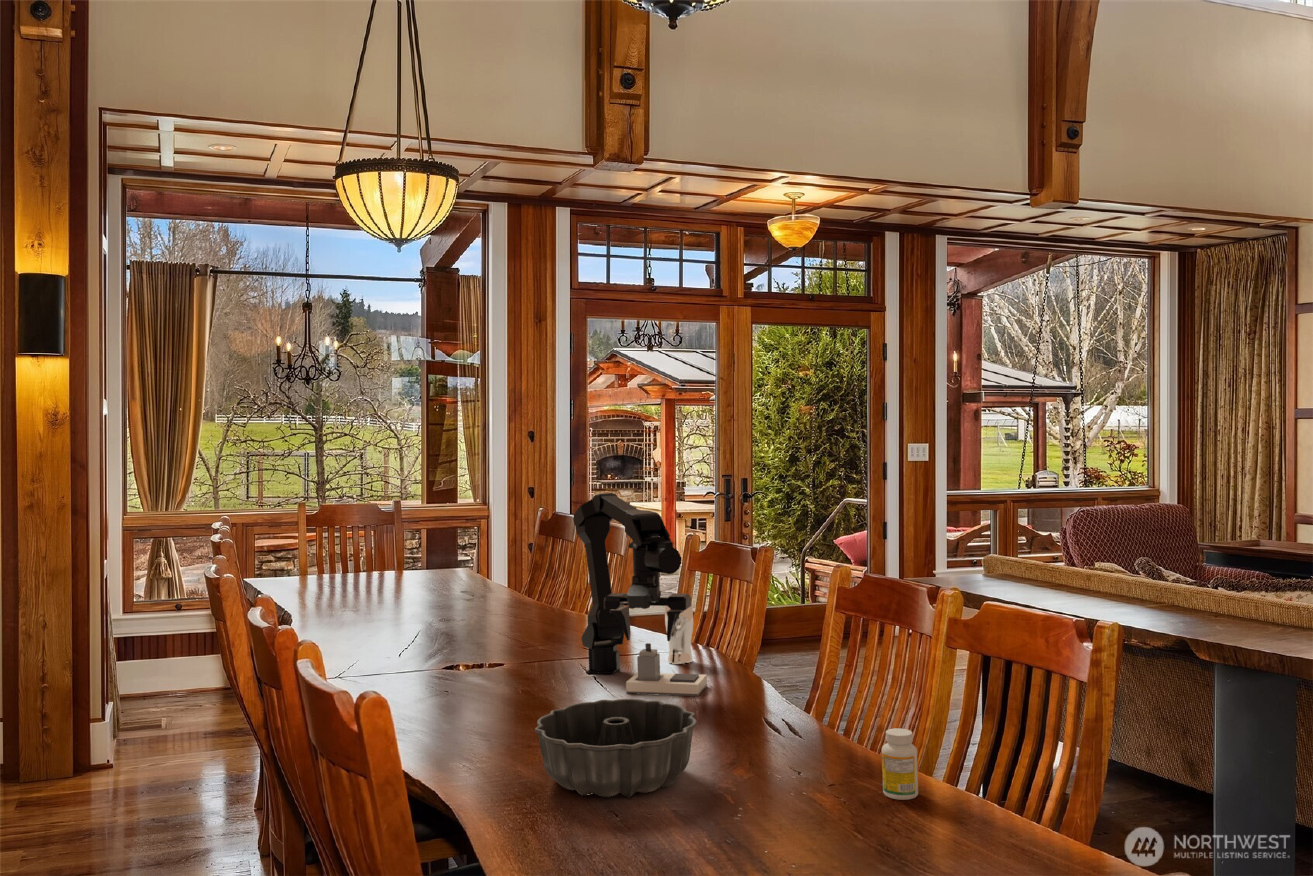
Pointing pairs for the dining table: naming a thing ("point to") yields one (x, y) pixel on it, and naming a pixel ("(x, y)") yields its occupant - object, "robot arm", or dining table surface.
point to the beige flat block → (669, 685)
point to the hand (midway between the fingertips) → (648, 640)
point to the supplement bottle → (899, 765)
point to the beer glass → (681, 637)
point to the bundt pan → (616, 745)
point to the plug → (648, 664)
